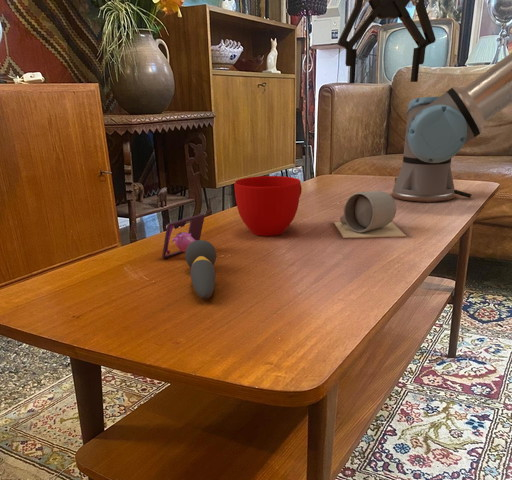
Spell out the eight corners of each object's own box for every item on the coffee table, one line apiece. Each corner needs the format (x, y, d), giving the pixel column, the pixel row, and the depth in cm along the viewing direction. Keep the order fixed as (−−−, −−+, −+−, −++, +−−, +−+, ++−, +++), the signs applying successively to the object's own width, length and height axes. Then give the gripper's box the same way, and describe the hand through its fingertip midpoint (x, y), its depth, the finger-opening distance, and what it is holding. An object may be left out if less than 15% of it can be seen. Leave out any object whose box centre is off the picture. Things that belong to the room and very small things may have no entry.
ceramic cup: (323, 226, 108) (325, 176, 104) (271, 244, 97) (271, 189, 93) (276, 217, 116) (276, 171, 112) (223, 233, 105) (220, 182, 101)
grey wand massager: (232, 302, 72) (231, 267, 69) (197, 306, 71) (194, 271, 68) (213, 260, 89) (211, 232, 87) (184, 263, 88) (181, 234, 86)
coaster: (390, 222, 111) (390, 220, 110) (405, 236, 100) (405, 235, 100) (334, 223, 110) (334, 222, 110) (343, 238, 100) (343, 236, 100)
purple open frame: (200, 211, 93) (164, 221, 87) (221, 224, 91) (186, 236, 85) (193, 244, 97) (158, 256, 91) (214, 257, 95) (179, 270, 89)
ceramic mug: (397, 228, 104) (400, 189, 101) (372, 235, 99) (374, 195, 96) (356, 220, 111) (358, 183, 108) (330, 227, 107) (331, 189, 103)
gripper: (332, -39, 100) (328, 84, 110) (461, -42, 100) (445, 81, 110) (327, -31, 107) (323, 84, 116) (447, -34, 107) (434, 81, 116)
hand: (382, 82), depth 113 cm, fingers open, 13 cm apart
